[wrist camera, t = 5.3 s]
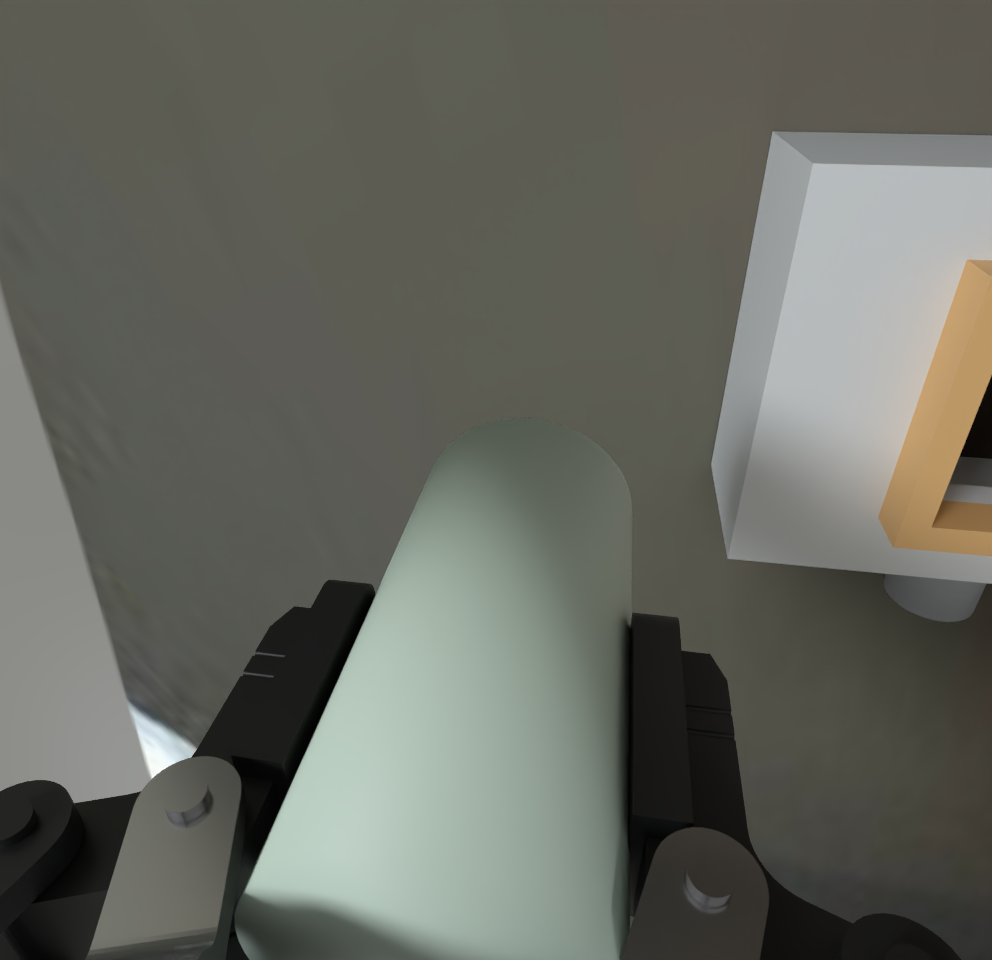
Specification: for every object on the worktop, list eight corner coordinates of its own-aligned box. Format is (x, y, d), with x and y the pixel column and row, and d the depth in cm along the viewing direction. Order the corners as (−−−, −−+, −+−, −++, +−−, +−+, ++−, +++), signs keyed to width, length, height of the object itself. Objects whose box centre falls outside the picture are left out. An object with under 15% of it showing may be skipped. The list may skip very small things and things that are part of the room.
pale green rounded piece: (420, 410, 15) (194, 827, 7) (642, 426, 14) (651, 899, 6) (431, 578, 17) (271, 1025, 9) (621, 598, 16) (611, 1090, 9)
